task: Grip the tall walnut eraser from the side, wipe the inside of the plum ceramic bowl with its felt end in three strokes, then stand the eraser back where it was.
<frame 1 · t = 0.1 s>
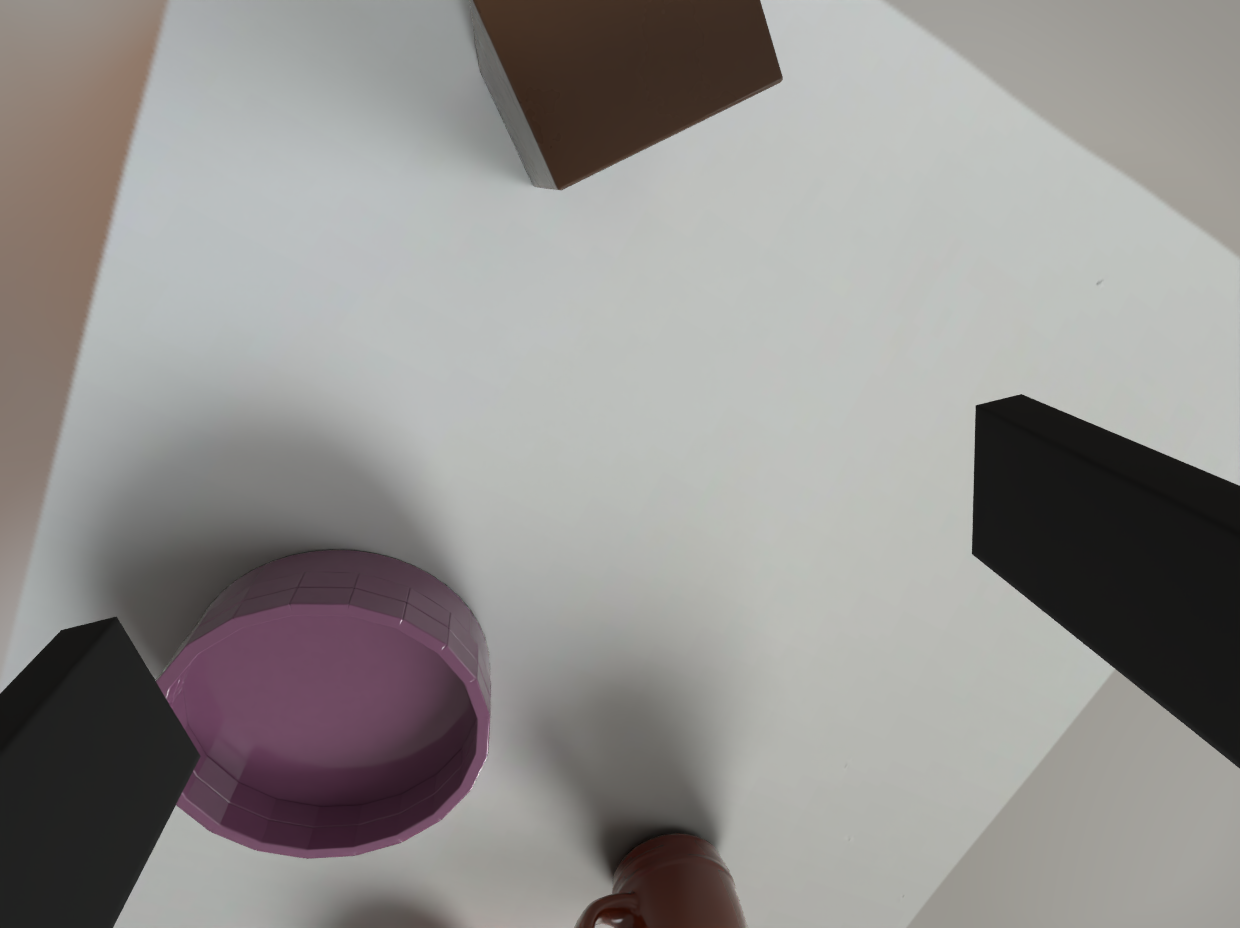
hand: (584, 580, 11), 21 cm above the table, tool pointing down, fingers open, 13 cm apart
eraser: (577, 95, 26), on the table
mug: (644, 856, 43), on the table
bowl: (345, 674, 34), on the table
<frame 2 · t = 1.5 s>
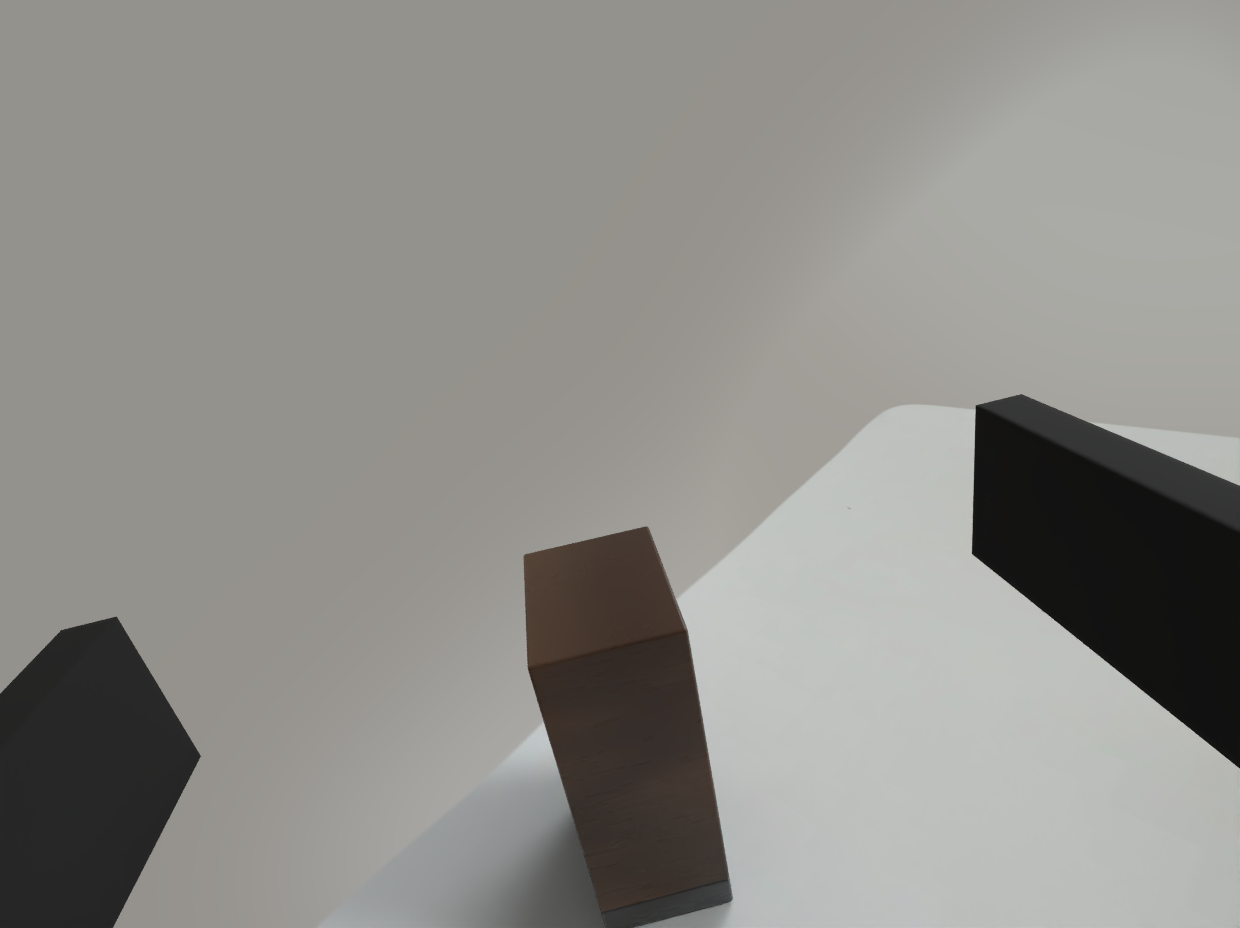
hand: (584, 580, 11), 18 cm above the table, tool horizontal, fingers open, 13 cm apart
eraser: (654, 840, 27), on the table
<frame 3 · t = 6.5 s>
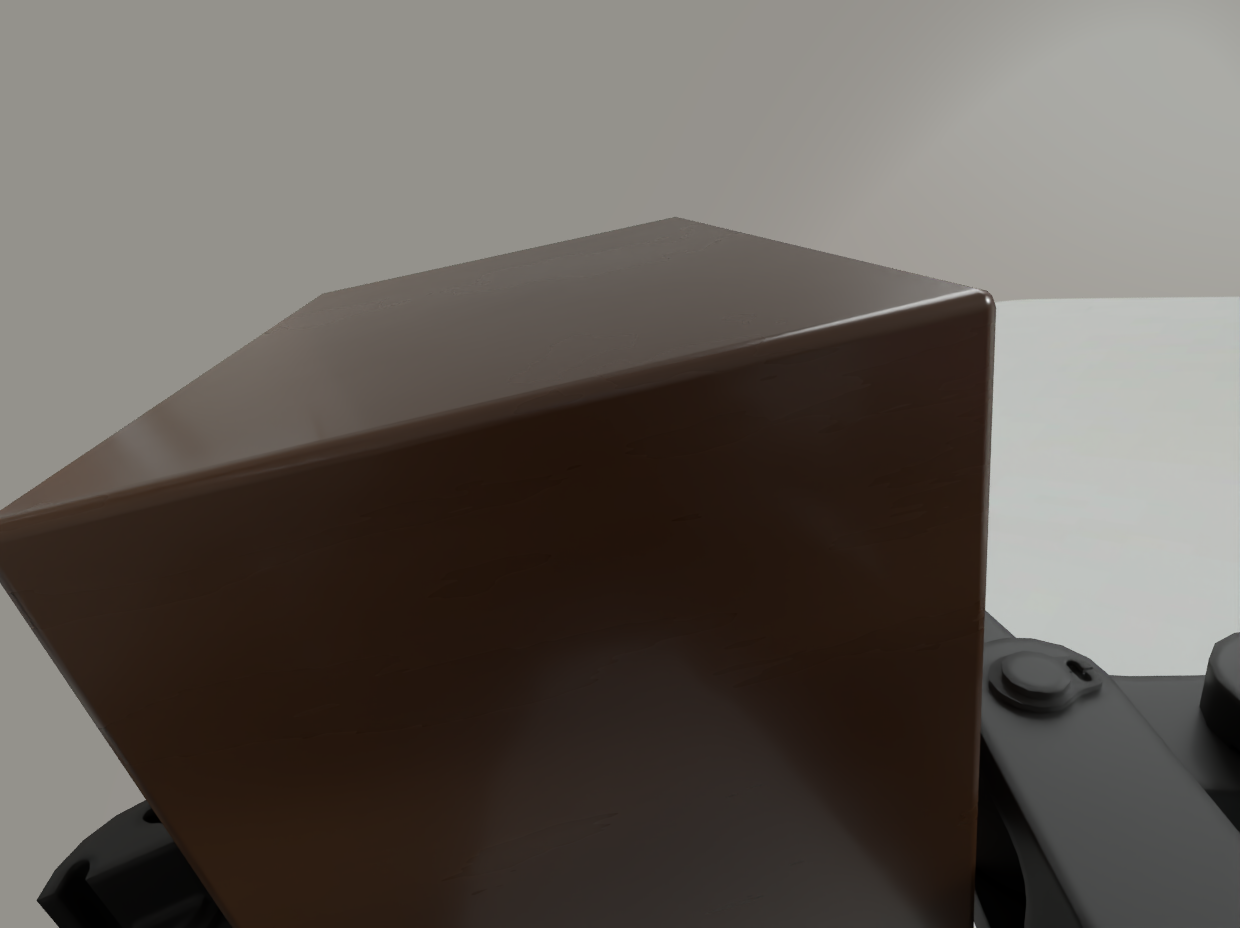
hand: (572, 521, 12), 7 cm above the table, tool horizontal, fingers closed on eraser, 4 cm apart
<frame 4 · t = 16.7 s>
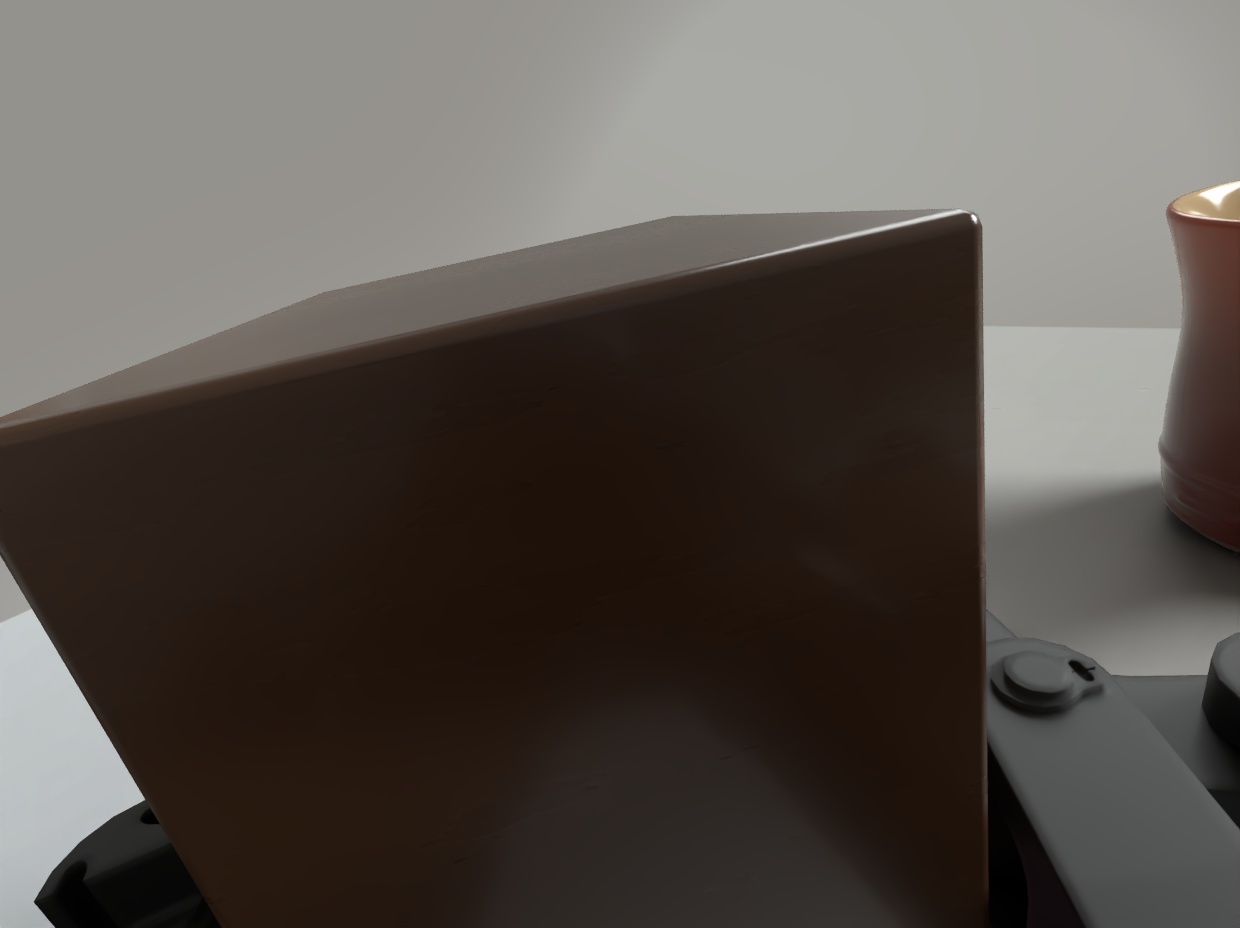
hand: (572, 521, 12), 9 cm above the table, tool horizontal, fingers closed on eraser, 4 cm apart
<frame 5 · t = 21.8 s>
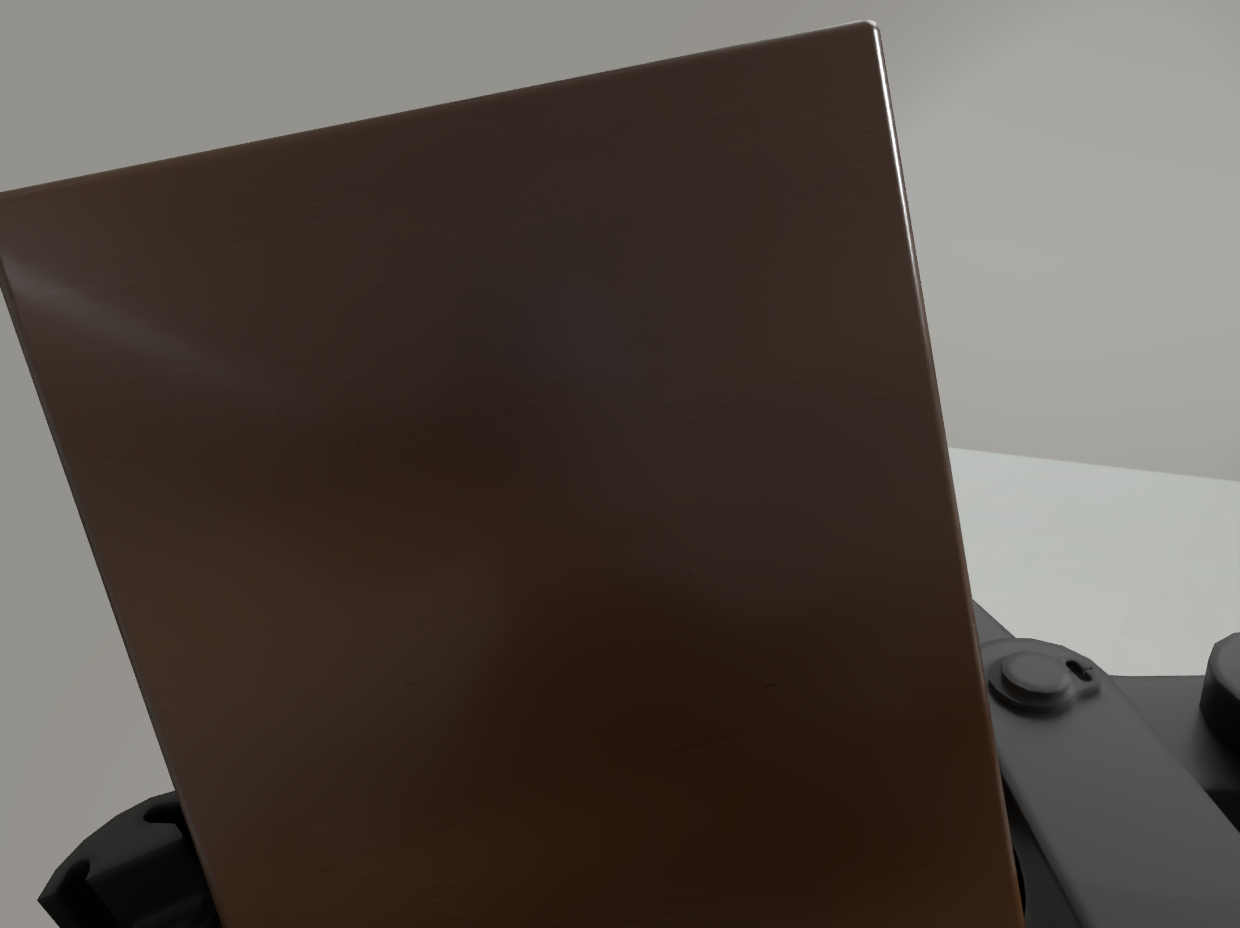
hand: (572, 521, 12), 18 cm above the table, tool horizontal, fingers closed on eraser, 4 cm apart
when the fingers open (7 cm above the table, at t = 26.7 s): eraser stays where it is, on the table.
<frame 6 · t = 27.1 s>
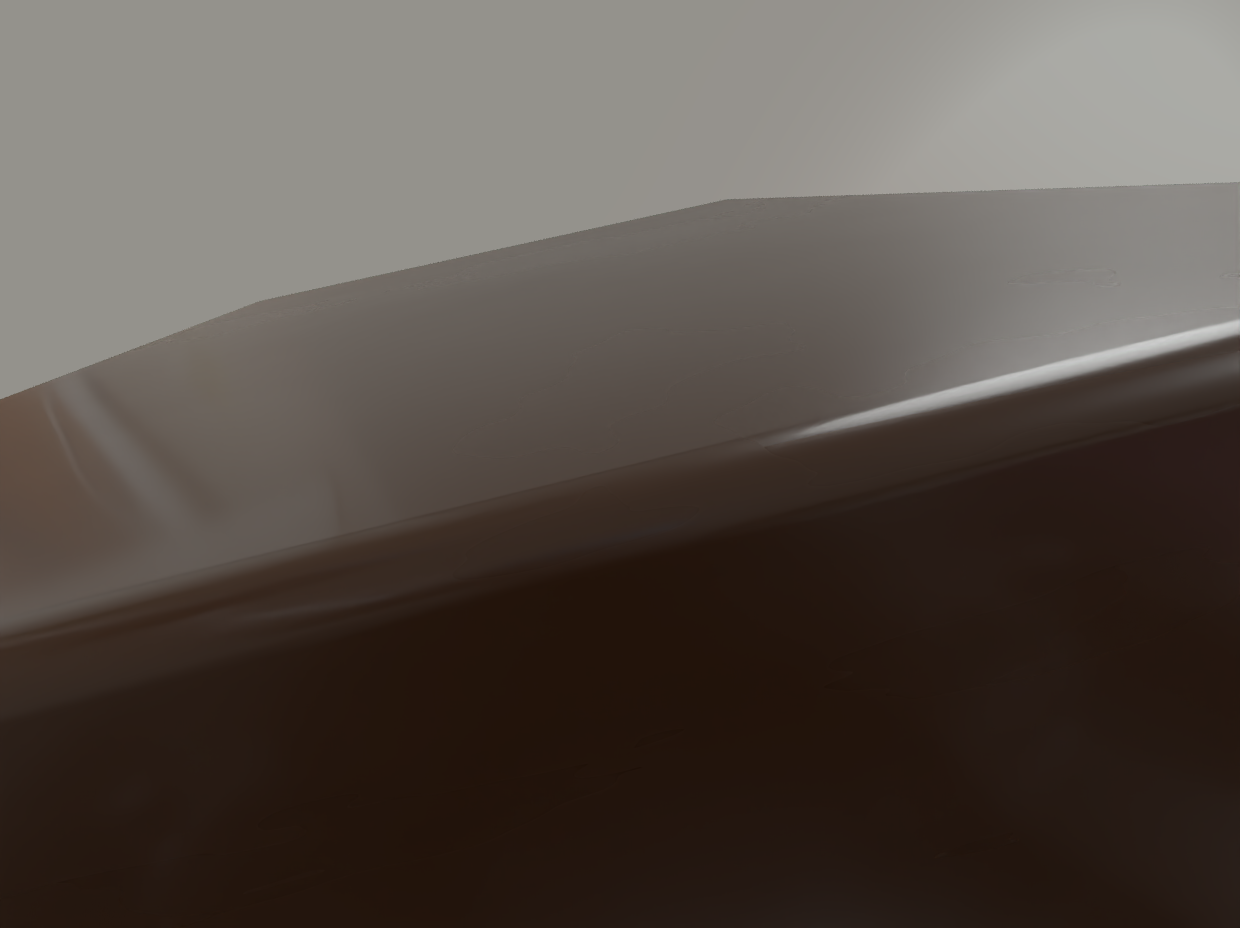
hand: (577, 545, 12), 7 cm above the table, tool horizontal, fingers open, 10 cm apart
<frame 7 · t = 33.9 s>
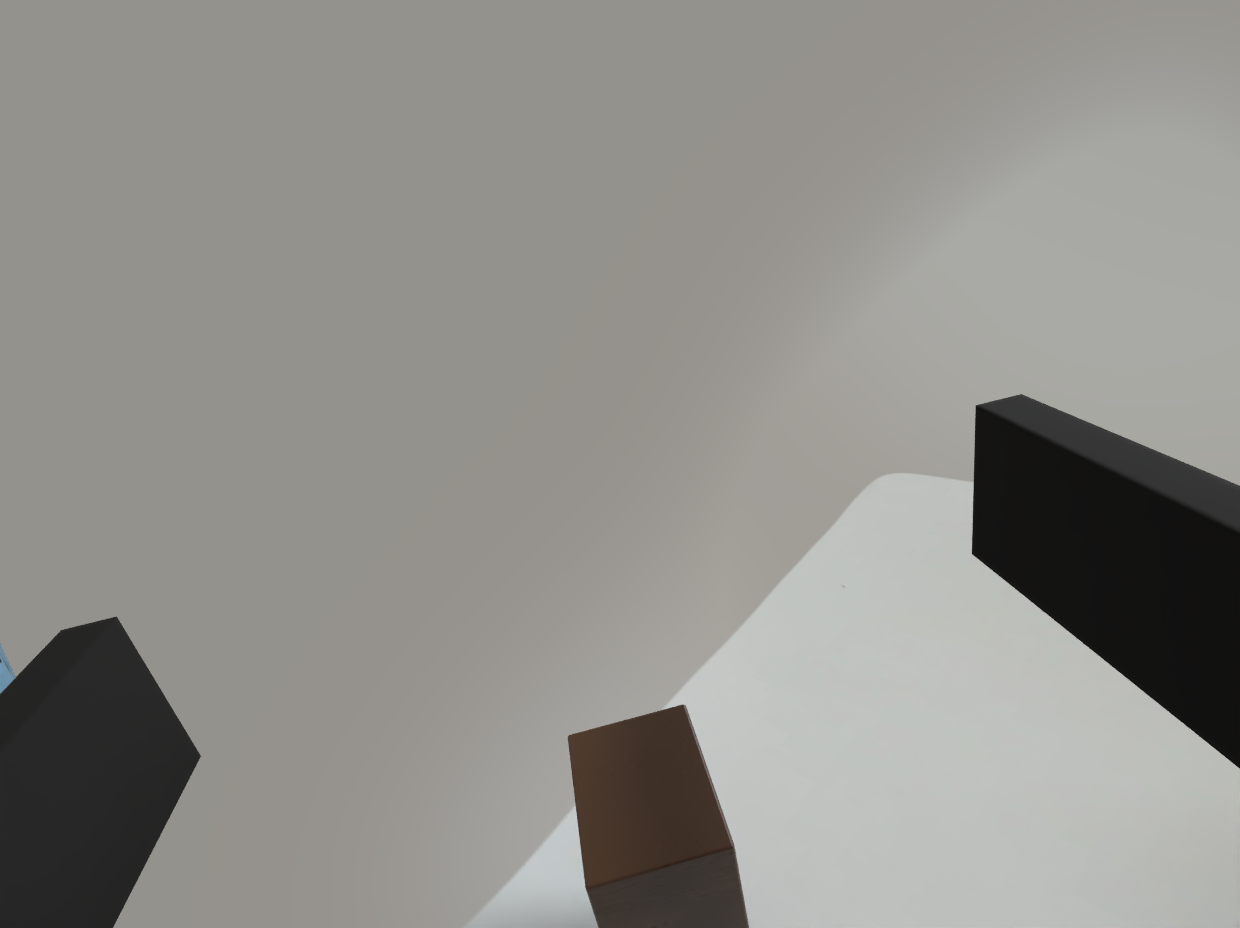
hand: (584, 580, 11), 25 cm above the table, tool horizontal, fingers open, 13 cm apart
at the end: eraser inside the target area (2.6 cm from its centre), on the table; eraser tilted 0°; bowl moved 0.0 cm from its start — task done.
